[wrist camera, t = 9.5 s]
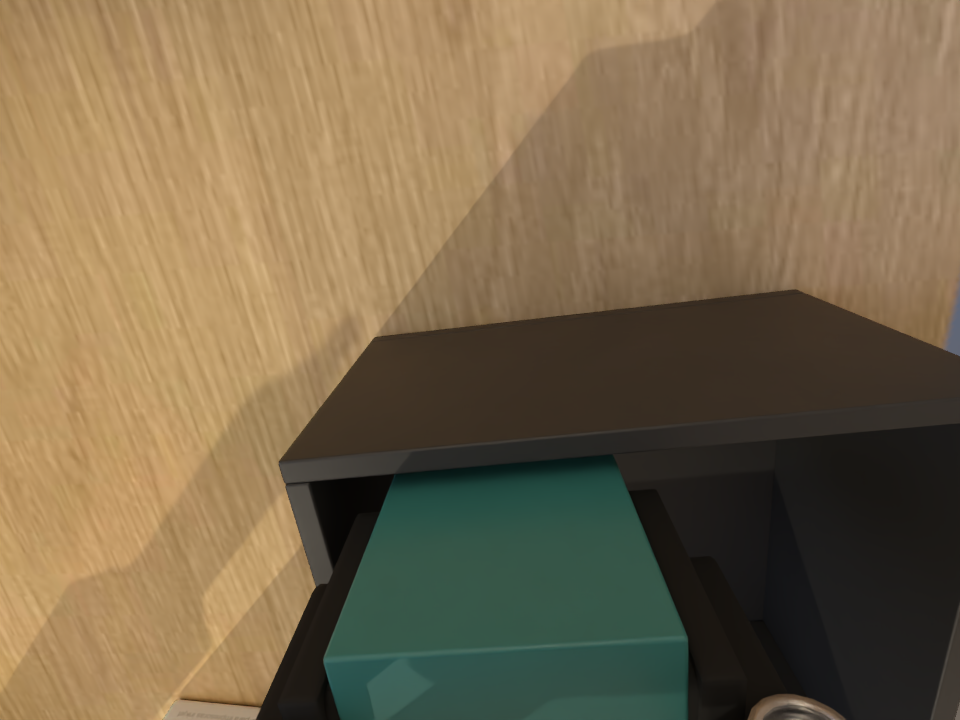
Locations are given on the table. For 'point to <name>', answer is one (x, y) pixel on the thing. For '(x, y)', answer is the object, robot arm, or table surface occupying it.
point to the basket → (702, 465)
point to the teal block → (509, 602)
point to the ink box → (209, 711)
